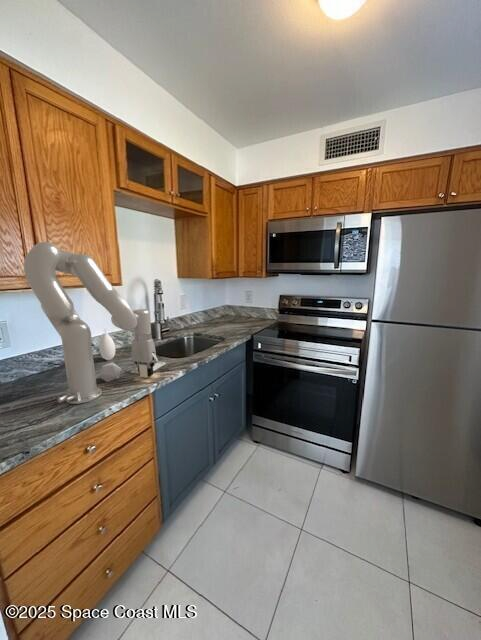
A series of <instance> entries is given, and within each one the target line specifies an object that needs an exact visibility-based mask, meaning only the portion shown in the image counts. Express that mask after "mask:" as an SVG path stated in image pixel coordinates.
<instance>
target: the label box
mask: <svg viewBox="0 0 481 640" xmlns="http://www.w3.org/2000/svg"><path fill="white" fill-rule="evenodd" d="M150 364H151V363H150ZM147 369H148V365H147V363H143V362H142V363H140V364H139V371H140V377H146V378H148V372H147Z"/></svg>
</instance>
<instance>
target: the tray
mask: <svg viewBox="0 0 481 640" xmlns="http://www.w3.org/2000/svg"><path fill="white" fill-rule="evenodd" d="M153 362H154V360H153ZM166 364H167V362H166V361H159V362H158V363H156V364H155V365H154V367H153V372H154V371H156V370H158V369H160V368H162V366H164V365H166ZM129 373H130V374H138V375H139V372H138V367H135V368H134V369H132V370H130V371H129Z"/></svg>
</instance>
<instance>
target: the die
mask: <svg viewBox="0 0 481 640" xmlns="http://www.w3.org/2000/svg"><path fill="white" fill-rule="evenodd" d="M121 371H122V368H121V367H120V366H118V365H117V364H116V363H115V362H109V363H106V364H103V365H101V368H100V371H99V375H98V378H99V377H100V378H101V379H102V380H103V381H105V382H106V383H110V382H112V381H114V380H117V379H119V377H120V373H121Z"/></svg>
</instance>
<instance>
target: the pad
mask: <svg viewBox="0 0 481 640" xmlns="http://www.w3.org/2000/svg"><path fill="white" fill-rule="evenodd" d="M160 376H161V374H159V373H158V374H156V373H153V375H152V376H150V377H148V378H146V377H140V376H139V375H138V376H137V377H135V378H133V379H132V380H131V381H133V382H140V383H147V384H149V383H151V382H152V381H154V380H155V379H157V378H159V377H160Z"/></svg>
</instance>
